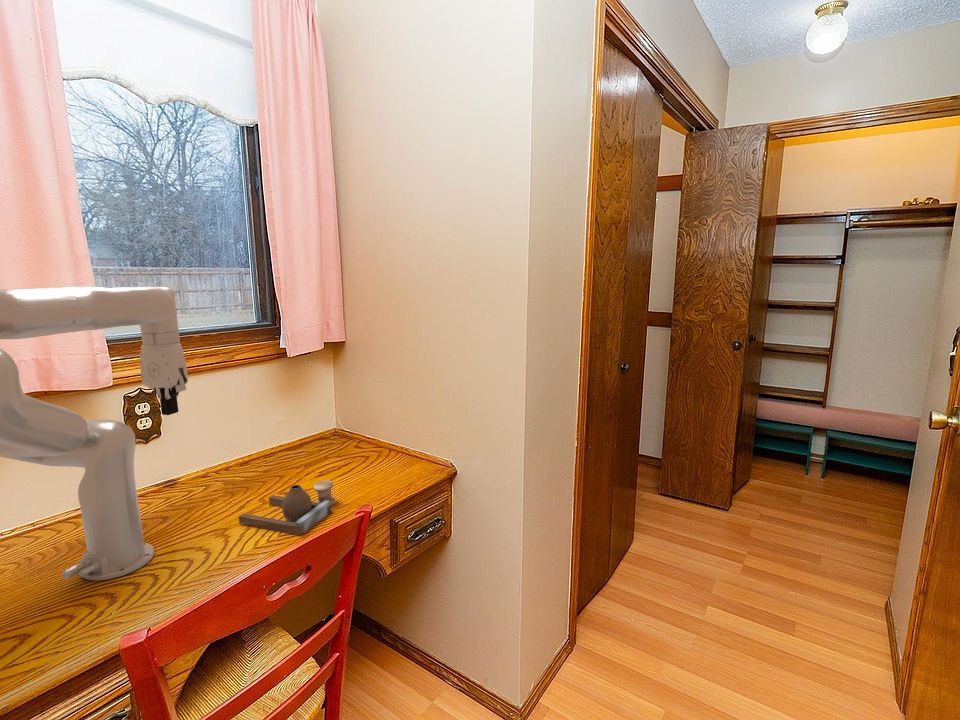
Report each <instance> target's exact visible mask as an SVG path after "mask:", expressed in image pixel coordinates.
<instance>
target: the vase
mask: <svg viewBox="0 0 960 720" xmlns="http://www.w3.org/2000/svg"><path fill="white" fill-rule="evenodd" d="M284 497H285V498H284V500H283V503H282V508H281V509H282V514H283V517H284V518H285V520H286V521H288V522H294V523H295V522H296V521H298V520H299V519H300V518H302V517H303V516H304V515H306V514H307V513H308V512H310V511H311V509H312V502H313V501H312V498H311V496H310V495H309V493H308V492H307V491H306V490H305V489H303V487H302V486H301V485H300V484H294V485H291V486H290V488H289V490H288V492H287V493H286V495H284ZM311 501H312V502H311Z"/></svg>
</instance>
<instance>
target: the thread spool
mask: <svg viewBox="0 0 960 720" xmlns="http://www.w3.org/2000/svg"><path fill="white" fill-rule="evenodd" d="M334 486H335V485H334V481H333V480H329V479H328V480H326V479H325V480H320V481H318V482H315V483H314V485H313V490H314V491H315V492H317V497H318V498H317V499H316V501H315V502H318V503H322V502H323V501H325V500H328V501H330V504H331V507H332V506H333V505H335V503H336V497H334V496H333V495H332V489H333V488H334Z"/></svg>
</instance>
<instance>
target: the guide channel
mask: <svg viewBox="0 0 960 720" xmlns="http://www.w3.org/2000/svg"><path fill="white" fill-rule="evenodd" d="M284 498H285V496H280V495H273V494H272V495H270V496H269V497H268V503H269V505H270V504H271V506H275V505H276V507H282V503H283V500H284ZM311 502H312V509H311V511H310V512H308V513H307V514H306V515H304V516H303V517H302V518H300V519H299V520H298V521H296V522H295V523H294V522H289V521H288V520H283V519H282V520H281V519H277V518H271V517H270V518H269V517H265V516H259V515H253V514H248V513H242V514H240V515H238V521H239V522H238V523H243V524H247V525H246V526H248V525H252V526H251V527H254V526H257V527H256V528H259V527H261V528H260V529H265V528H266V530H270V531H276V532H282V533H286V534H292V535H297V536H302V535H304V534H305V533H306V532H307V531H308V530H309V529H311V528H312V527H314V525H316V524H317V523H318V522H320V521H322V519H323V518H325V517H326V516H328V515H329V514H330V513H331V512H332V506H331V504H330V501H328V500H325V501H323V502H322V503H318V502H316V501H312V500H311ZM243 524H242V525H243Z"/></svg>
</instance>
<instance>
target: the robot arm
mask: <svg viewBox="0 0 960 720" xmlns="http://www.w3.org/2000/svg"><path fill="white" fill-rule="evenodd" d="M176 305H177V304H176V296H175V292H174V290H173V289H172V287H171V288H170V287H168V286H130V287H129V286H125V287H124V286H123V287H122V286H119V287H112V288H110V287H97V286H96V287H94V286H57V287H56V286H55V287H54V286H53V287H30V288H29V287H28V288H26V287H25V288H24V287H23V288H0V340H21V339H23V340H24V339H30V338H38V337H46V336H52V335H59V334H67V333H68V334H69V333H76V332H84V331H97V330H106V329H112V328H119V327H129V326H139V327H140V333H141V341H142V345H140V350H139V351H140V354H139V366H140V367H139V368H140V377H141V378H140V379H141V383H142V385H144V386H145V387H148V389H150V390H152V391H154V392H155V393H156V396H157V398H158V399H159V402H160V408H161V409H160V410H161V411H160V412H161V415H162V416H170V415H173V414H177V413H178V412H179V406H178V405H179V404H178V397H179V395H180V392H181V393H182V392H184V391H186V390H187V386H186V384H187V383H188V382H189V381H188V380H189V377H188V375H189V374H188V367H187V362H186V357H185V354H184V353H185V352H184V349H183V347H182V344H181V341H180V340H181V338H180V331H179V322H178V321H179V320H178V313H177V306H176ZM19 372H20V371H19V368H18V365H17V363H16V361H15V360H14V358H13V357H12V356H11V355H10V354H9V353H8V352H7V351H5V350H4V349H2V348H0V458H5V459H10V460H16V461H19V462H26V463H30V464H37V465H43V466H50V467H70V468H71V467H73V468H74V467H75V468H76V467H77V468H84V469H85V470H84V473H83V476H82V478H81V480H80V482H79V484H78V488H77V495H78V496H77V497H78V502H79V507H80V508H79V509H80V513H81V519H82V520H81V521H82V525H83V526H82V527H83V531H84V538H85V545H86V549H87V551H85V552H84V553H82V554H81V557H82V559H80V560H79V561H78V563H77V564H75V565H72V566H69V567H68V568H66V569H64V570H62V572H61V576H62V577H63V579H64V580H67V581H68V580H70V579H72V578H73V577H75V576H77V575H78V576H79V577H80V578H84V579H85V580H87V581H88V580H89V581H105V580H106V581H107V580H112V579H116V577H117V578H120V577H123V576H126V575H128V574H131V573H133V572H135V571H136V570H139V569H141V568H143V567H144V566H145V565H146V564H148V563H149V562H150V561H151V560H152V559H153V557H154V554H155V549H154V547H153V545H152V544H149V543H147V542H145V541H144V534H143V528H142V527H143V526H142V521H141V520H142V519H141V518H142V517H141V511H140V507H139V505H140V504H139V497H138V492H137V486H136V485H137V483H136V477H135V466H134V465H135V452H136V434H135V431H133V429H132V428H131V426H129V425H128V424H126V423H124V422H122V421H119V420H112V419H100V418H99V419H95V418H94V419H93V418H92V419H91V418H89V419H87V418H86V419H85V418H84V417H83V416H82V415H80V414H79V413H78V412H76V411H75V410H72V409H70V408H67V407H64V406H60V405H58V404H57V405H56V404H54V403H50V402H47V401H44V400H40V399H38V398H35V397H32V396H30V395H27V394H26V393H24V391H23V389H22V385H21V381H20V373H19Z"/></svg>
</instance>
